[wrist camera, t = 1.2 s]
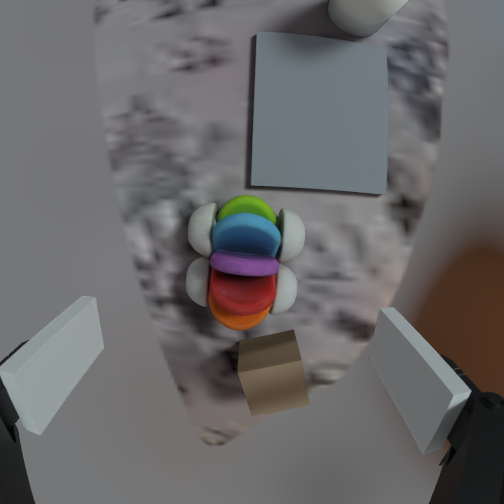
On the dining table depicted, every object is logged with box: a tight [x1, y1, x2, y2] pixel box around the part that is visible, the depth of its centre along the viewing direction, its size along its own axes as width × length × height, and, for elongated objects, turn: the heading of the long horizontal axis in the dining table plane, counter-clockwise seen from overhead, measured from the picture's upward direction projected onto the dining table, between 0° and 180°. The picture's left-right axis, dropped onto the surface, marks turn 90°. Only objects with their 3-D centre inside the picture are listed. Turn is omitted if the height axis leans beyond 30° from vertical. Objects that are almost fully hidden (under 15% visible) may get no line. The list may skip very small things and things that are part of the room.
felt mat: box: [251, 31, 388, 195], centre depth 22 cm, size 13×11×1 cm
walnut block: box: [237, 330, 309, 416], centre depth 26 cm, size 5×5×5 cm
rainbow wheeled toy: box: [186, 195, 305, 330], centre depth 22 cm, size 8×10×7 cm
